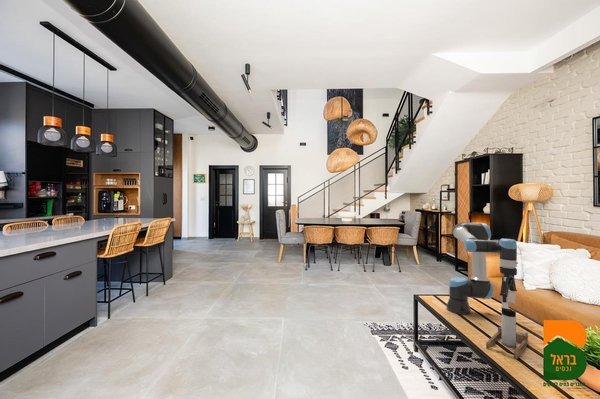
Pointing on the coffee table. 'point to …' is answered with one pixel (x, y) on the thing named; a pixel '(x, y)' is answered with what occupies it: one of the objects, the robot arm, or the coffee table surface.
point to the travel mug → (509, 327)
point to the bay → (520, 339)
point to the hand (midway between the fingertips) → (508, 305)
